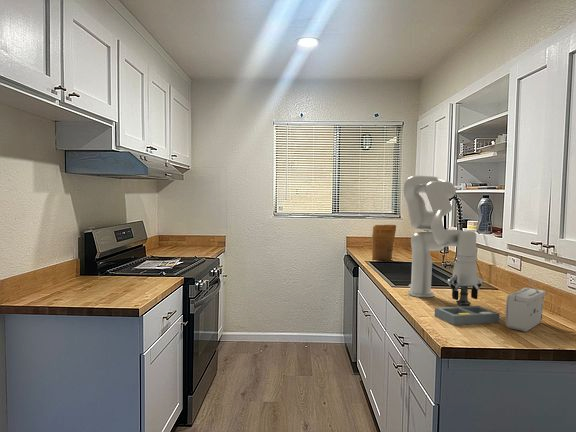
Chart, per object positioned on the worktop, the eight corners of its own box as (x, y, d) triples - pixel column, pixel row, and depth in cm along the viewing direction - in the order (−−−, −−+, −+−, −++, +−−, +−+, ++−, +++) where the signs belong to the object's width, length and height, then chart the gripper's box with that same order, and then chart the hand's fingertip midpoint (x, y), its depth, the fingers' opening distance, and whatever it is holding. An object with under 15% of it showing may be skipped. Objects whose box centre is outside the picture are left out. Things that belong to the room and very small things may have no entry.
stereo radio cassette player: (522, 318, 168) (524, 270, 167) (544, 323, 162) (547, 273, 161) (503, 328, 154) (506, 275, 153) (527, 334, 148) (531, 279, 147)
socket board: (434, 316, 167) (435, 306, 167) (477, 313, 173) (478, 304, 172) (453, 325, 156) (454, 315, 155) (499, 322, 161) (499, 312, 161)
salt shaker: (466, 308, 181) (468, 281, 180) (473, 312, 175) (474, 284, 174) (453, 308, 181) (454, 281, 180) (459, 311, 175) (461, 284, 174)
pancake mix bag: (396, 261, 312) (397, 225, 310) (371, 261, 310) (373, 224, 309) (393, 260, 319) (394, 224, 317) (369, 259, 317) (370, 223, 315)
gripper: (476, 258, 182) (475, 296, 183) (443, 258, 178) (442, 297, 178) (489, 260, 175) (487, 300, 176) (454, 261, 171) (453, 301, 171)
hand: (464, 298), depth 177 cm, fingers open, 9 cm apart
